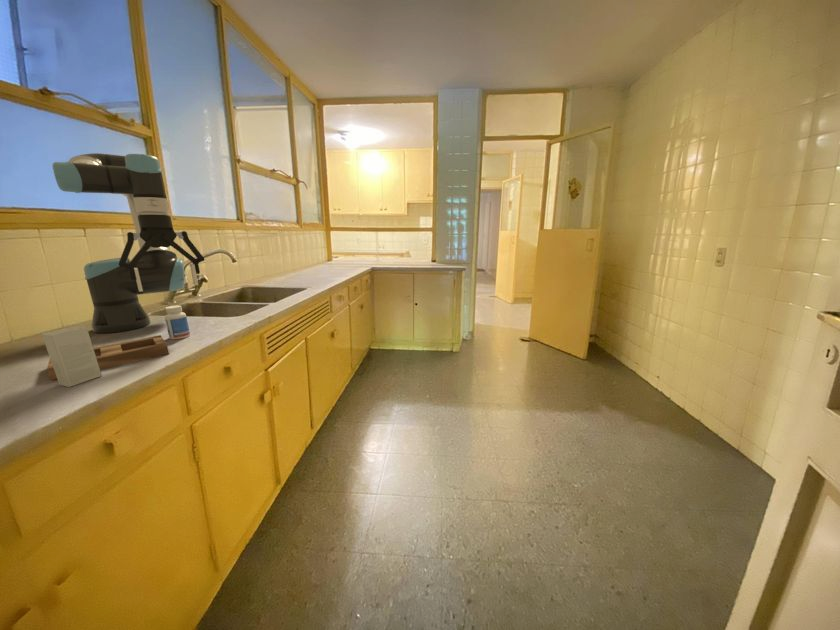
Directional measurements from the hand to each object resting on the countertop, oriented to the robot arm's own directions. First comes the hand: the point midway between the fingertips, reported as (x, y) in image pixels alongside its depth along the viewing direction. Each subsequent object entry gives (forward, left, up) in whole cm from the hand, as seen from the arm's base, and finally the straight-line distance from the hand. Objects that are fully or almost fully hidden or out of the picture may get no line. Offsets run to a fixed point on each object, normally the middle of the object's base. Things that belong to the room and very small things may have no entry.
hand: (169, 287), depth 100 cm
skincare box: (+20, -22, -16) cm, 34 cm away
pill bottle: (0, 0, -16) cm, 16 cm away
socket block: (+10, -16, -16) cm, 24 cm away
